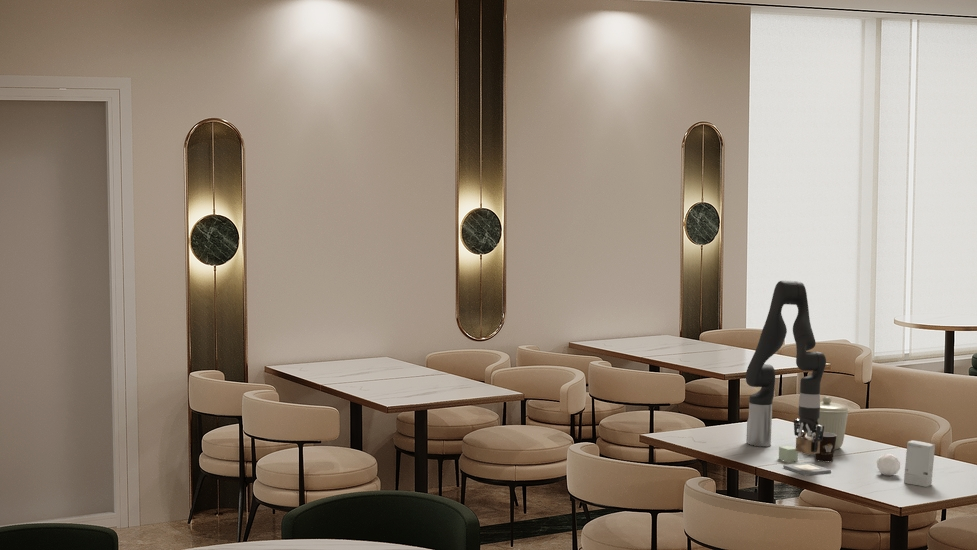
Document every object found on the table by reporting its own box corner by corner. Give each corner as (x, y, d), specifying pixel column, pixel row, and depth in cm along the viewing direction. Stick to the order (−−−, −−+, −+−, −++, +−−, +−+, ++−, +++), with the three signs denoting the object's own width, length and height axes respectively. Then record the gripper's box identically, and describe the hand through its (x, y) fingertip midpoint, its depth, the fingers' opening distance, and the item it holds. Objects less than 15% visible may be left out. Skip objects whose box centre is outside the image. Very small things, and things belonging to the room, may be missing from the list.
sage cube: (778, 459, 393) (779, 446, 392) (788, 458, 395) (789, 445, 394) (787, 462, 388) (787, 449, 388) (797, 461, 390) (798, 448, 390)
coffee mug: (835, 458, 396) (836, 433, 395) (835, 463, 388) (836, 437, 387) (804, 455, 400) (805, 430, 399) (803, 460, 392) (804, 434, 391)
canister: (857, 450, 410) (860, 399, 409) (821, 453, 404) (824, 401, 402) (827, 441, 427) (829, 391, 426) (792, 443, 420) (794, 393, 419)
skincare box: (903, 483, 360) (905, 442, 359) (909, 480, 365) (910, 439, 364) (928, 487, 355) (930, 445, 354) (933, 484, 359) (935, 443, 358)
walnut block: (795, 450, 377) (796, 437, 377) (808, 449, 379) (808, 436, 379) (806, 454, 372) (807, 440, 371) (819, 453, 374) (820, 439, 374)
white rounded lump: (878, 468, 367) (864, 464, 379) (896, 481, 367) (881, 477, 379) (890, 450, 368) (876, 447, 379) (908, 464, 368) (893, 460, 380)
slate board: (783, 467, 379) (783, 464, 379) (808, 465, 384) (808, 462, 384) (805, 475, 368) (805, 472, 368) (830, 472, 373) (830, 469, 373)
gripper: (831, 408, 370) (829, 453, 370) (804, 401, 383) (802, 445, 384) (815, 409, 367) (813, 455, 367) (788, 402, 380) (786, 446, 381)
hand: (807, 449), depth 376 cm, fingers closed on walnut block, 6 cm apart
